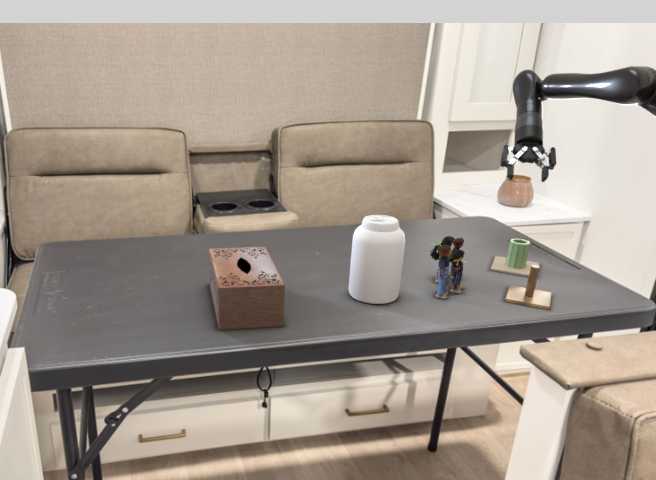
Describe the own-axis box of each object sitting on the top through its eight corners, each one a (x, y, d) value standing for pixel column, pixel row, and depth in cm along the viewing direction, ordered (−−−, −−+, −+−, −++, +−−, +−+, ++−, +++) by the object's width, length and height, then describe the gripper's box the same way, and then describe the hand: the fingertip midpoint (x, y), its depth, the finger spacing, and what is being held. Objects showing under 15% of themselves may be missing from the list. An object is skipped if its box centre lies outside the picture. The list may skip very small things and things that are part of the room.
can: (340, 298, 144) (346, 220, 136) (358, 282, 154) (365, 208, 146) (389, 309, 139) (398, 228, 130) (404, 291, 148) (414, 216, 140)
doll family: (470, 305, 141) (479, 253, 136) (431, 302, 143) (439, 251, 137) (457, 271, 162) (464, 225, 157) (423, 269, 164) (430, 223, 158)
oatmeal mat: (539, 264, 168) (539, 262, 168) (536, 278, 158) (537, 276, 158) (495, 257, 173) (495, 255, 173) (490, 270, 163) (490, 268, 163)
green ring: (525, 264, 167) (531, 240, 164) (524, 270, 162) (529, 245, 159) (506, 261, 169) (511, 237, 166) (504, 266, 165) (509, 242, 162)
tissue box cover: (283, 326, 130) (284, 284, 126) (219, 329, 128) (218, 288, 124) (264, 282, 153) (265, 246, 149) (209, 285, 151) (208, 248, 147)
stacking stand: (551, 295, 148) (558, 263, 144) (549, 309, 140) (557, 276, 136) (509, 287, 152) (515, 256, 148) (504, 301, 144) (511, 269, 140)
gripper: (505, 122, 167) (503, 170, 161) (559, 124, 164) (559, 173, 158) (500, 138, 174) (497, 184, 168) (551, 141, 170) (550, 188, 165)
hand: (527, 179), depth 163 cm, fingers open, 8 cm apart
